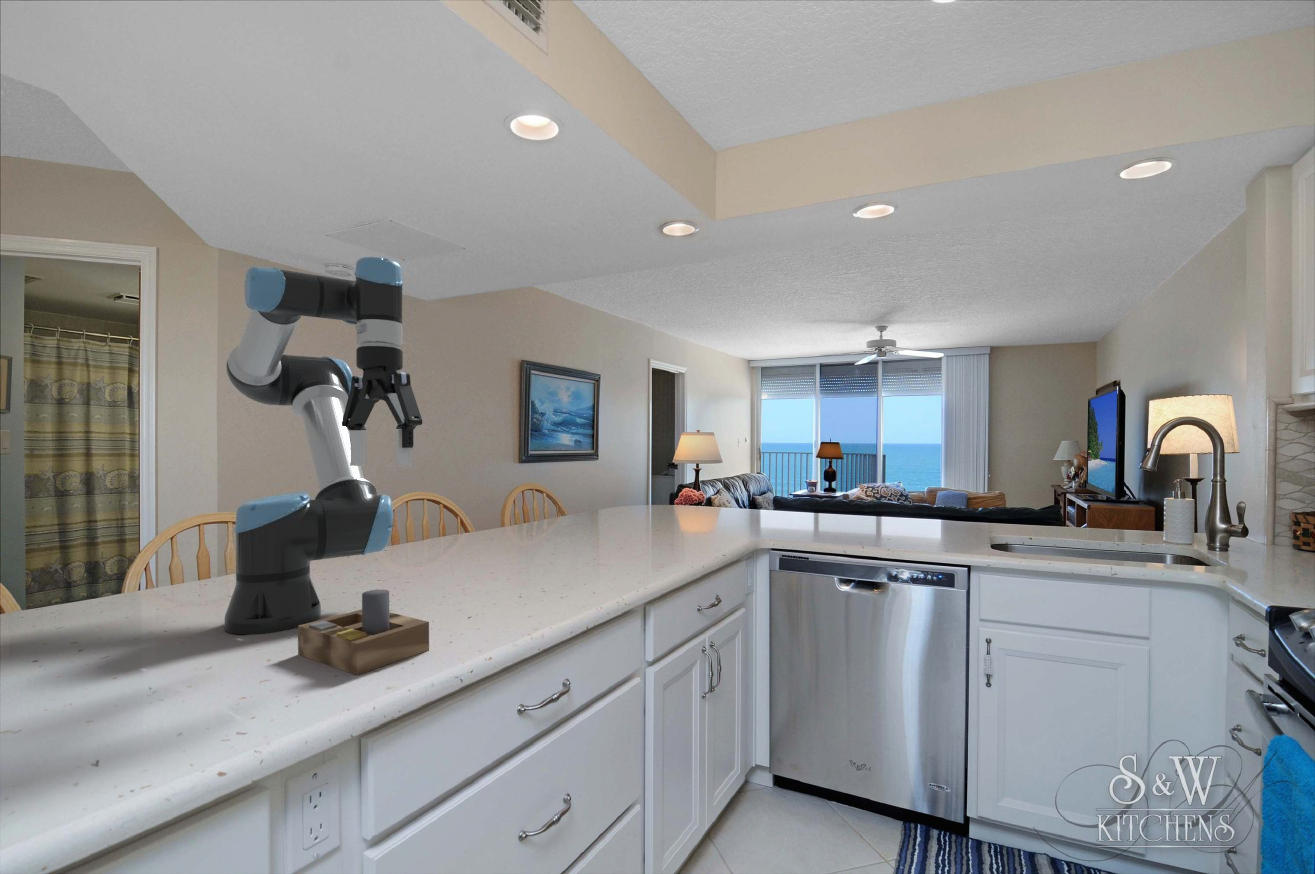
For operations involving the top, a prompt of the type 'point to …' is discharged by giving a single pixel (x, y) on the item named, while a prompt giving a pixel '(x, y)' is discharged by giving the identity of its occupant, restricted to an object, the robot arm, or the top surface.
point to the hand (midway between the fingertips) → (380, 466)
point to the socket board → (361, 642)
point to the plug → (375, 611)
